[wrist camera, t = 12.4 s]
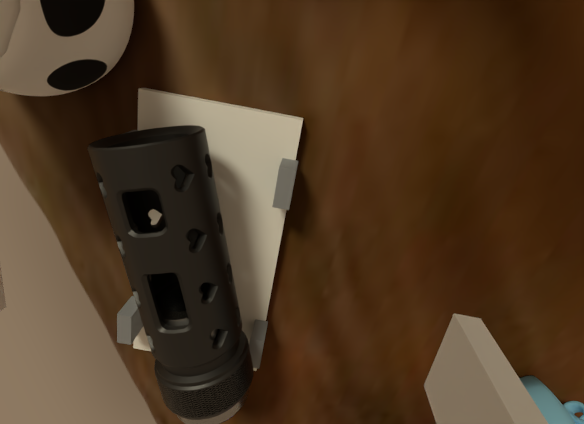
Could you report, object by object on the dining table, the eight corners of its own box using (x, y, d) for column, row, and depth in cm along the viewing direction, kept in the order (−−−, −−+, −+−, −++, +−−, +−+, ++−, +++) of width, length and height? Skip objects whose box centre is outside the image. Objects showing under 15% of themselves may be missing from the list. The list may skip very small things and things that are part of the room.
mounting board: (142, 87, 36) (116, 90, 32) (306, 118, 37) (304, 126, 32) (136, 339, 48) (117, 368, 44) (260, 362, 48) (254, 394, 44)
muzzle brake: (221, 119, 34) (188, 141, 25) (262, 353, 45) (249, 433, 35) (123, 129, 35) (54, 154, 25) (186, 357, 45) (153, 436, 36)
